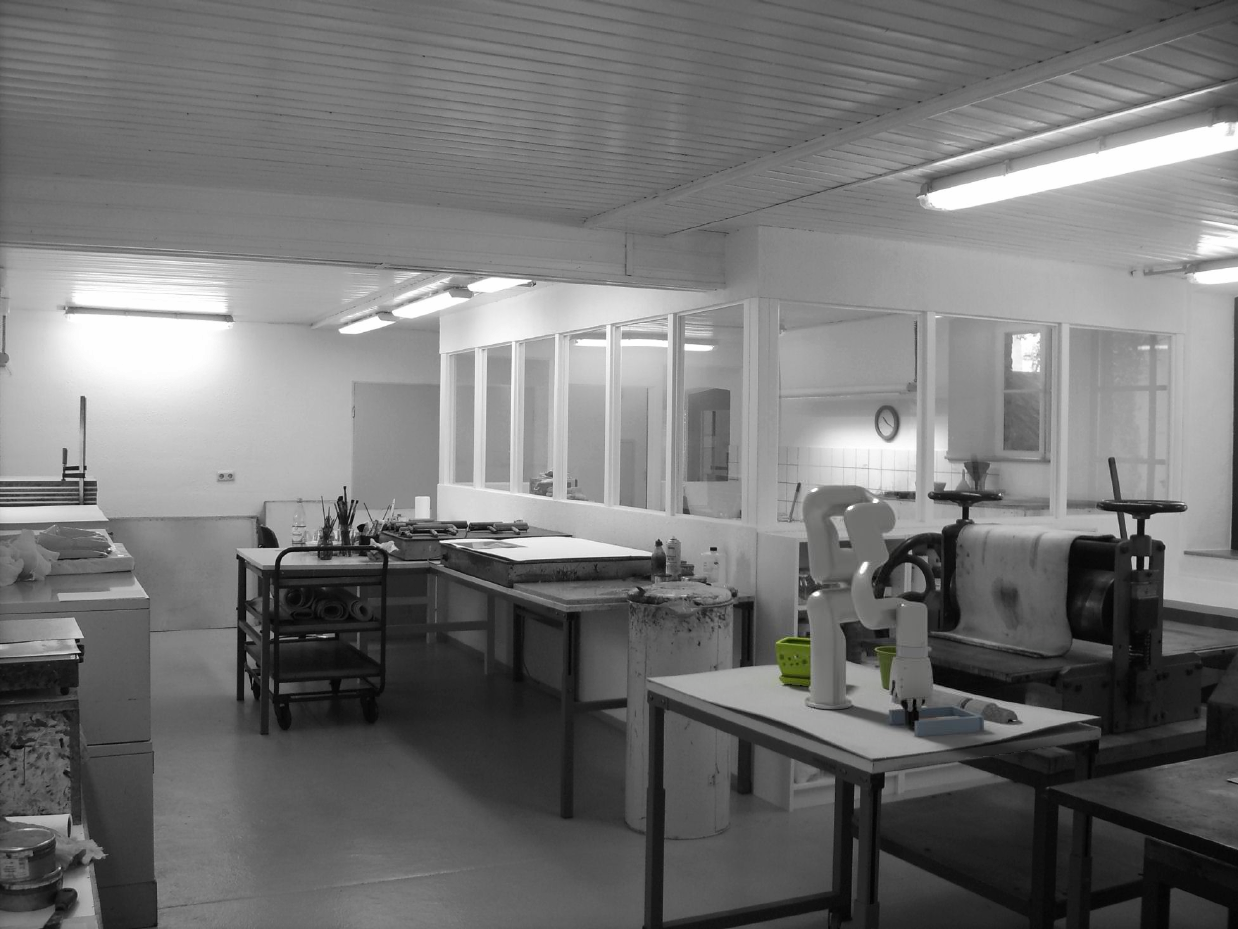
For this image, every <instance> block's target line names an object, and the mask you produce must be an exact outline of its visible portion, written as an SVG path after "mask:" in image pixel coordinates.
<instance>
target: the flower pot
mask: <svg viewBox="0 0 1238 929" xmlns="http://www.w3.org/2000/svg"><path fill="white" fill-rule="evenodd" d="M774 648H775V654H776V660H777V665H778V668H779V671H780V672H781V675H779V676H778V679H779V681H780V682H781V683H782V684H784V683H785V684H784V685H788V684H789V685H790V684H792V685H791V686H800V685H802V687H810V686H811V643H810V638H808V637H807V638H806V637H796V636H794V637H792V636H787V637H785V638H781V639H780V640H778V641H776V642H775V647H774ZM795 656H796V657H795Z"/></svg>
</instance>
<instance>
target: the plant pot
mask: <svg viewBox="0 0 1238 929" xmlns="http://www.w3.org/2000/svg"><path fill="white" fill-rule="evenodd" d="M874 651H875V652H876V655H877V659H878V666H879V673H880V679H881V687H882V688H883V689H886V690H889V681H890V670H891V664H892V660H893V657H896V646H890V645H889V646H879V647H875V648H874Z"/></svg>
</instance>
